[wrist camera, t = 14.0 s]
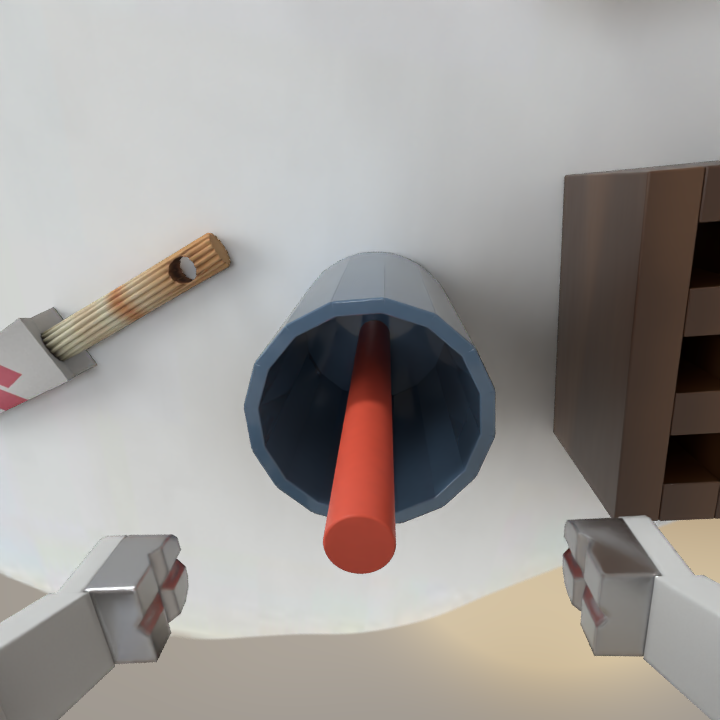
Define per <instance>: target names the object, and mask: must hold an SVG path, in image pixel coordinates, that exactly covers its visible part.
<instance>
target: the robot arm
mask: <svg viewBox="0 0 720 720" xmlns="http://www.w3.org/2000/svg"><path fill="white" fill-rule="evenodd" d="M564 538H565V540H566V542H567V544H568V546H569V548H568V550H567V551H566V552H565V553H564V554H563V575H564V582H565V586H566V589H567V593H568V596H569V598H570V601H571V603H572V605H573V606H575V607H576V608H577V609H578V610H580V611H581V626H582V629H583V631H584V633H585V635H586V638H587V640H588V642H589V645H590V647H591V649H592V651H593V654H594V655H595V656H644V658H643V659H644V660H645V661H646V662H648V663H649V664H650V665H651V666H652V667H653V668H654V669H655V670H657V671H658V672H659V673H660V674H661V675H662V676H663V677H664V678H665V679H667V680H668V681H669V682H670V683H671V684H672V685H673V686H674V687H675V688H677V689H678V690H679V691H680V692H681V693H682V694H684V695H685V696H686V697H687V698H688V699H689V700H690V701H691V702H692V703H693V704H694V705H696V706H697V707H698V708H699V709H700V710H701V711H702V712H703V713H704V714H706V715H707V716H708V717H709V718H710V719H711V720H720V584H719V583H717V582H715V581H713V580H711V579H709V578H708V577H706V576H704V575H695V574H694V573H693V572H692V571H691V569H690V568H689V567H688V565H687V564H686V563H685V562H684V560H683V559H682V558H681V557H680V555H679V554H678V553H677V551H676V550H675V549H674V548H673V546H672V545H671V544H670V543H669V541H668V540H667V539H666V538H665V536H664V535H663V534H662V532H661V531H660V530H659V529H658V527H657V526H656V525H655V523H654V522H653V521H652V520H651V518H649V517H647V516H646V515H641V516H625V517H618V518H599V519H576V520H567V521H566V524H565V529H564ZM180 551H181V548H180V545H179V541H178V538H177V537H176V536H174V535H129V536H126V535H122V536H106V537H104V538H102V539H100V540H99V541H98V543H97V544H96V545H95V546H94V548H93V549H92V550H91V551H90V552H89V554H88V555H87V556H86V557H85V559H84V560H83V561H82V562H81V563H80V565H79V566H78V567H77V568H76V570H75V571H74V572H73V573H72V575H71V576H70V577H69V578H68V579H67V581H66V582H65V583H64V584H63V586H62V587H61V588H60V589H59V590H58V592H57V593H49V594H47V595H45V596H44V597H43V598H41V599H39V600H37V601H36V602H34V603H33V604H31V605H29V606H27V607H26V608H24V609H22V610H21V611H19V612H17V613H16V614H14V615H12V616H11V617H9V618H7V619H6V620H4V621H2V622H1V623H0V720H58V719H60V718H61V717H62V716H63V715H64V714H65V713H66V712H67V711H68V710H69V709H70V708H71V707H72V706H73V705H74V704H76V703H77V702H78V701H79V700H80V699H81V698H82V697H83V696H84V695H85V694H86V693H87V692H88V691H89V690H90V689H92V688H93V687H94V686H95V685H96V684H97V683H98V682H99V681H100V680H101V679H102V678H103V677H104V676H105V675H106V674H107V673H109V672H110V671H111V670H112V669H113V668H114V667H115V664H125V663H146V662H157V660H158V658H159V656H160V654H161V652H162V650H163V648H164V646H165V644H166V642H167V639H168V638H169V636H170V634H171V631H170V627H169V624H168V623H169V622H171V621H172V620H173V619H174V618H176V617H177V616H178V615H179V614H180V613H181V611H182V609H183V606H184V604H185V602H186V597H187V592H188V574H187V570H186V567H185V566H184V565H183V564H182V563H181V562H180V561H179V560H178V559H177V556H178V555H179V553H180Z"/></svg>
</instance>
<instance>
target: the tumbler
mask: <svg viewBox="0 0 720 720" xmlns="http://www.w3.org/2000/svg"><path fill="white" fill-rule="evenodd" d="M371 320H378V321H381V322H383V323H384V324H385V325H386V326H387V327H388V329H389V332H390V361H391V395H392V429H393V463H394V497H395V524H396V523H401V522H402V523H404V522H406V521H409V520H411V519H414V518H416V517H419V516H421V515H424V514H426V513H429V512H431V511H434V510H436V509H439V508H441V507H443V506H445V505H446V504H447V503H448V502H449V501H450V500H451V499H453V498H454V497H455V496H456V495H457V494H458V493H459V492H460V491H461V490H462V489H463V488H465V487H466V486H467V485H468V484H469V483H470V482H471V481H472V480H473V479H474V478H475V477H476V476H477V474H478V472H479V470H480V468H481V466H482V464H483V461H484V459H485V457H486V455H487V453H488V451H489V448H490V446H491V444H492V442H493V440H494V438H495V388H494V386H493V384H492V382H491V380H490V378H489V375H488V373H487V371H486V369H485V367H484V365H483V363H482V361H481V358H480V356H479V354H478V352H477V350H476V348H475V346H474V344H473V342H472V341H471V339H470V337H469V335H468V333H467V332H466V330H465V328H464V326H463V324H462V322H461V321H460V319H459V317H458V315H457V313H456V312H455V310H454V308H453V306H452V304H451V302H450V301H449V299H448V297H447V295H446V293H445V292H444V290H443V288H442V286H441V285H440V283H439V282H437V281H436V280H435V278H434V277H433V276H432V275H431V274H430V273H429V272H428V271H427V270H425V269H424V268H423V267H421V266H420V265H419V264H417V263H415V262H413V261H411V260H410V259H407V258H405V257H402V256H399V255H395V254H391V253H384V252H367V253H360V254H356V255H353V256H349V257H347V258H344V259H342V260H340V261H338V262H337V263H335V264H333V265H332V266H330V267H329V268H328V269H326V270H324V271H323V272H322V273H321V274H320V276H319V277H318V278H317V279H316V280H315V282H314V283H313V284H312V286H311V287H310V288H309V289H308V291H307V292H306V293H305V294H304V296H303V297H302V298H301V300H300V301H299V303H298V304H297V305H296V307H295V308H294V309H293V311H292V312H291V313H290V315H289V316H288V318H287V319H286V320H285V322H284V323H283V324H282V326H281V327H280V328H279V330H278V331H277V333H276V334H275V335H274V337H273V338H272V339H271V341H270V342H269V344H268V345H267V346H266V348H265V349H264V350H263V352H262V353H261V354H260V356H259V357H258V359H257V360H256V362H255V364H254V367H253V371H252V375H251V379H250V383H249V387H248V391H247V395H246V399H245V403H244V411H245V416H246V422H247V427H248V432H249V438H250V443H251V448H252V449H253V453H254V454H255V456H256V457H257V459H258V460H259V462H260V463H261V465H262V466H263V468H264V469H265V471H266V472H267V474H268V475H269V477H270V478H271V480H272V481H273V483H274V484H275V486H277V488H279V489H280V490H281V491H283V492H284V493H286V494H287V495H288V496H290V497H291V498H293V499H294V500H296V501H297V502H298V503H300V504H301V505H303V506H304V507H305V508H307V509H308V510H310V511H311V512H313V513H316V514H319V515H323V516H326V517H327V515H328V509H329V503H330V497H331V492H332V486H333V480H334V474H335V469H336V463H337V457H338V452H339V446H340V440H341V434H342V429H343V423H344V417H345V412H346V406H347V400H348V394H349V389H350V383H351V377H352V371H353V366H354V360H355V354H356V349H357V343H358V337H359V332H360V329H361V327H362V326H363V325H364V324H365V323H366V322H368V321H371Z"/></svg>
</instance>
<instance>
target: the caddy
mask: <svg viewBox="0 0 720 720" xmlns="http://www.w3.org/2000/svg"><path fill="white" fill-rule="evenodd" d="M553 432H554V434H555V435H556V437H557V438H558V440H559V441H560V443H561V444H562V446H563V447H564V449H565V450H566V451H567V453H568V454H569V456H570V457H571V459H572V460H573V462H574V463H575V465H576V466H577V468H578V469H579V471H580V472H581V474H582V475H583V477H584V478H585V480H586V481H587V482H588V484H589V485H590V487H591V488H592V490H593V491H594V493H595V494H596V496H597V497H598V499H599V500H600V502H601V503H602V505H603V506H604V508H605V509H606V511H607V512H608V514H609V515H610V516H611V518H618V517H625V516H641V515H646V516H647V517H649V518H651V520H652V521H657V520H660V521H667V520H690V519H713V518H717V519H718V518H720V161H709V162H699V163H688V164H678V165H667V166H657V167H646V168H636V169H625V170H615V171H606V172H594V173H584V174H573V175H566V176H565V182H564V205H563V227H562V250H561V272H560V295H559V317H558V340H557V362H556V385H555V407H554V430H553Z"/></svg>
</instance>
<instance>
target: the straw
mask: <svg viewBox="0 0 720 720" xmlns="http://www.w3.org/2000/svg"><path fill="white" fill-rule="evenodd" d="M323 546H324V550H325V553H326V555H327V556H328V558H329V559H330V561H331V562H332V563H333V564H334V565H336V566H337V567H339V568H340V569H342V570H345V571H347V572H351V573H357V574H364V573H371V572H374V571H377V570H379V569H381V568H382V567H384V566H385V565H386V564H387V563H388V562H389V561H390V560H391V558H392V557H393V555H394V552H395V548H396V531H395V497H394V463H393V429H392V395H391V361H390V332H389V329H388V327H387V326H386V325H385V324H384V323H383V322H381V321H378V320H371V321H368V322H366V323H365V324H364V325H363V326H362V327H361V329H360V332H359V337H358V343H357V349H356V354H355V360H354V366H353V371H352V377H351V383H350V389H349V394H348V400H347V406H346V412H345V417H344V423H343V429H342V434H341V440H340V446H339V452H338V457H337V463H336V469H335V474H334V480H333V486H332V492H331V497H330V503H329V509H328V515H327V520H326V526H325V532H324V537H323Z"/></svg>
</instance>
